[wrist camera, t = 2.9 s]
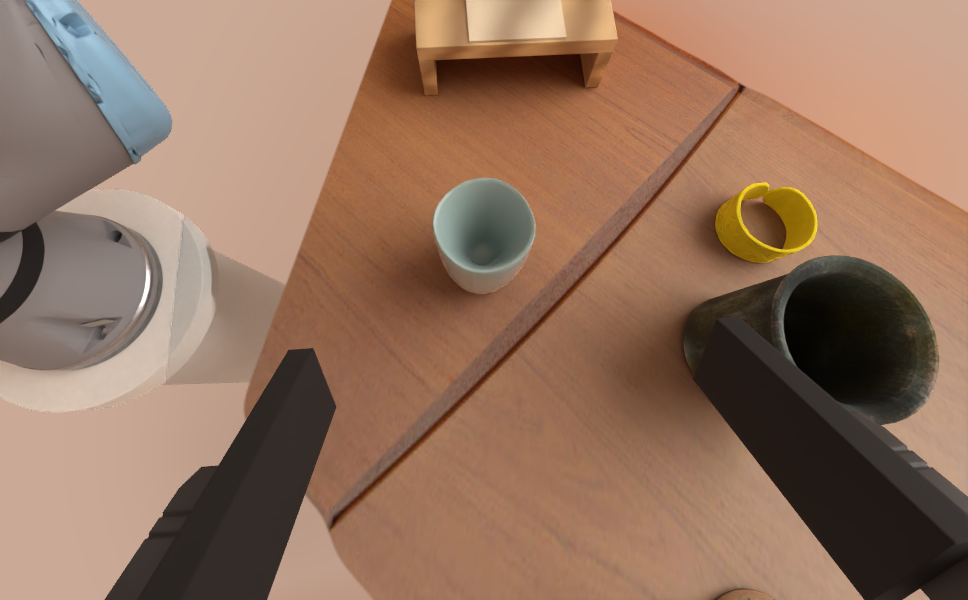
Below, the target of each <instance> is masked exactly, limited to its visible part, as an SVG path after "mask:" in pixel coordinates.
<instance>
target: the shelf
mask: <svg viewBox="0 0 968 600" xmlns="http://www.w3.org/2000/svg"><path fill="white" fill-rule="evenodd" d="M414 7H415V30H416V49H417V55H418V60H419V66H420V71H421V77H422V82H423V87H424V93H425V95H438V85H437V67H436V60H449V59H471V58H494V57H516V56H539V55H561V54H580V56H581V62H582V69H583V75H584V81H585V87H598V85H599V83H600V80H601V78H602V76H603V73H604V71H605V69H606V66H607V64H608V61H609V59H610V57H611V54H612V52H613V50H614V47H615V45H616V42H617V40H618V37H617V32H616V27H615V21H614V16H613V11H612V5H611V0H414Z"/></svg>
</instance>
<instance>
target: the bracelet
mask: <svg viewBox="0 0 968 600" xmlns="http://www.w3.org/2000/svg"><path fill="white" fill-rule="evenodd" d="M762 196H763V201H764V203H765V204H767V205H768V206H769V207H771V208H772V209H774V210H775V211H776V212H777V213H778V215H779V216H780V217H781V219H782V221H783V223H784V225H785V228H786V241H785V244H784V246H783V248H782V249H777V248H773V247H770V246H768V245H765V244H763V243H761V242H760V241H758V240H757V239H756V238H754V237H753V236H752V235H751V234H750V233H749V232H748V230H747V229H746V227H745V226H744V224H743V222H742V218H741V214H740V207H741V202H742V200H750V199H756V198H759V197H762ZM715 227H716V232H717V235H718V238H719V240H720V241H721V243H722V244H723V245H724V246H725V247H726V248H727V249H728V250H729V251H730V252H731V253H732V254H734V255H736V256H737V257H739V258H741V259H744V260H747V261H750V262H755V263H766V262H770V261H773V260H776V259H779V258H781V257H784V256H786V255H789V254H792V253H794V252H797V251H799V250H802V249H803V248H805V247H806V246H808V245H809V244H810V243H811V242H812V241H813V239H814V237H815V235H816V231H817V216H816V212H815V209H814V208H813V206H812V204H811V203H810V201H809V199H808V198H807V197H806V196H805V195H804V194H803V193H802V192H800V191H798V190H797V189H795V188H790V187H780V188H776V189H772V190H770V191H769V184H767V183H755V184H752V185H750V186H748V187H746V188H745V189H744V190H742V191H741V192H740V193H738V194H737V195H736V196H734V197H733V198H731V199H730V200H729V201H727V202H725V203H724V204H723V205H722V206H721V207H720V209H719V210H718V213H717V215H716V220H715Z"/></svg>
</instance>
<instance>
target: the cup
mask: <svg viewBox="0 0 968 600" xmlns="http://www.w3.org/2000/svg"><path fill="white" fill-rule="evenodd" d="M432 229H433V237H434V241H435V244H436V247H437V250H438V253H439V256H440V259H441V262H442V264H443V266H444V268H445V270H446V271H447V273H448V275H449V276H450V277H451V278H452V280H453V281H454V282H455V283H456V284H457V285H458V286H459V287H461V288H462V289H464V290H466V291H468V292H471V293H474V294H489V293H492V292H495V291H498V290H500V289H502V288H503V287H505V286H506V285H508V284H509V283H510V282H511V281H512V280H513V279H514V278H515V277H516V276H517V275H518V274H519V272H520V270H521V269H522V267H523V265H524V264H525V262H526V260H527V258H528V256H529V253H530V251H531V248H532V245H533V242H534V239H535V231H536V225H535V219H534V215H533V213H532V210H531V207H530V206H529V204H528V202H527V201H526V199H525V198H524V197H523V196H522V195H521V193H520V192H519V191H517V190H516V189H515V188H514V187H513V186H511V185H509V184H508V183H506V182H504V181H501V180H498V179H495V178H476V179H472V180H469V181H466V182H463V183H461V184H459V185H457V186H456V187H454V188H453V189H451V190H450V191H449V192H448V193H447V194H445V195H444V196H443V197H442V199H441V200H440V202H439V203H438V204H437V206H436V209H435V211H434V214H433V221H432Z"/></svg>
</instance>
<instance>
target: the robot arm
mask: <svg viewBox="0 0 968 600" xmlns="http://www.w3.org/2000/svg"><path fill="white" fill-rule="evenodd" d="M171 128H172V119H171V116H170V113H169V111H168V109H167V108H166V106H165V105H164V103H163V102H162V101H161V99H160V98H159V97H158V95H157V94H156V93H155V92H154V90H153V89H152V88H151V87H150V85H149V84H148V83H147V82H146V80H145V79H144V78H143V77H142V75H141V74H140V73H139V72H138V71H137V69H136V68H135V67H134V66H133V65H132V64H131V62H130V61H129V60H128V59H127V57H126V56H125V55H124V54H123V53H122V51H121V50H120V49H119V48H118V47H117V46H116V45H115V43H114V42H113V41H112V40H111V39H110V37H109V36H108V35H107V34H106V33H105V32H104V30H103V29H102V28H101V27H100V26H99V25H98V24H97V22H96V21H95V20H94V19H93V18H92V17H91V16H90V15H89V13H88V12H87V11H86V10H85V9H84V7H83V6H82V5H81V4H80V3H79V2H78V1H77V0H0V360H1V361H4V362H7V363H11V364H14V365H17V366H20V367H23V368H28V369H33V370H77V369H83V368H87V367H91V366H94V365H97V364H99V363H102V362H104V361H106V360H108V359H110V358H112V357H114V356H115V355H117V354H119V353H120V352H122V351H123V350H124V349H126V348H127V347H128V346H129V345H131V344H132V343H133V342H134V341H135V340H136V339H137V338H138V337H139V336H140V334H141V333H142V332H143V331H144V330H145V328H146V327H147V326H148V324H149V323H150V321H151V319H152V318H153V316H154V314H155V312H156V309H157V307H158V304H159V301H160V297H161V293H162V286H163V273H162V267H161V263H160V260H159V257H158V255H157V253H156V251H155V249H154V248H153V246H152V245H151V244H150V243H149V242H148V240H147V239H146V238H144V237H143V236H142V235H141V234H139V233H138V232H136V231H135V230H133V229H131V228H129V227H126V226H124V225H122V224H119V223H117V222H114V221H112V220H109V219H107V218H104V217H100V216H94V215H86V214H78V213H70V212H62V211H55V210H57V209H58V208H60V207H62V206H63V205H65V204H67V203H68V202H70V201H72V200H73V199H75V198H77V197H78V196H80V195H82V194H83V193H85V192H87V191H88V190H90V189H92V188H93V187H95V186H97V185H98V184H100V183H102V182H104V181H105V180H107V179H108V178H110V177H112V176H114V175H115V174H117V173H119V172H120V171H122V170H123V169H125V168H127V167H129V166H130V165H132V164H137V163H138V162H139V161H140V160H141V156H143V155H144V154H145V153H147V152H148V151H150V150H151V149H152V148H154V147H155V146H156V145H158V144H159V143H161V142H162V141H163V140H165V139H166V138H167V137H168V135H169V133H170V132H171ZM693 379H694V381H695V382H696V383H697V385H698V386H699V387H700V388H701V390H702V391H703V392H704V394H705V395H706V396H707V397H708V399H709V400H710V401H711V403H712V404H713V405H714V406H715V408H716V409H717V410H718V412H719V413H720V414H721V415H722V417H723V418H724V419H725V421H726V422H727V423H728V425H729V426H730V427H731V428H732V430H733V431H734V432H735V434H736V435H737V436H738V437H739V439H740V440H741V441H742V443H743V444H744V445H745V446H746V448H747V449H748V450H749V452H750V453H751V454H752V455H753V457H754V458H755V459H756V461H757V462H758V463H759V464H760V466H761V467H762V468H763V470H764V471H765V472H766V474H767V475H768V476H769V477H770V479H771V480H772V481H773V483H774V484H775V485H776V486H777V488H778V489H779V490H780V492H781V493H782V494H783V495H784V497H785V498H786V499H787V501H788V502H789V503H790V504H791V506H792V507H793V508H794V510H795V511H796V512H797V513H798V515H799V516H800V517H801V519H802V520H803V521H804V523H805V524H806V525H807V526H808V528H809V529H810V530H811V532H812V533H813V534H814V535H815V537H816V538H817V539H818V541H819V542H820V543H821V544H822V546H823V547H824V548H825V550H826V551H827V552H828V553H829V555H830V556H831V557H832V559H833V560H834V561H835V563H836V564H837V565H838V566H839V568H840V569H841V570H842V572H843V573H844V574H845V575H846V577H847V578H848V579H849V581H850V582H851V583H852V584H853V586H854V587H855V588H856V590H857V591H858V592H859V593H860V595H861V596H862V597H863V599H864V600H902V599H904V598H906V597H907V596H909V595H910V594H912V593H913V592H915V591H917V590H918V589H921V590H922V591H923V592H924V593H925V594H926V595H927V596H928V597H929V599H930V600H968V497H967V496H966V495H965V494H964V493H963V492H961V491H960V490H959V489H958V488H957V487H955V486H954V485H953V484H952V483H951V482H949V481H948V480H947V479H946V478H945V477H943V476H942V475H941V474H940V473H938V472H937V471H936V470H935V469H934V468H932V467H931V468H930V467H928V466H927V463H926V462H925V461H924V460H923V459H922V458H920V457H919V456H918V455H917V454H916V453H914V452H913V451H909V450H908V449H907V446H906V445H905V444H903V443H902V442H901V441H900V440H899V439H897V438H896V437H895V436H894V435H893V434H891V433H890V432H889V431H888V430H887V429H885V428H884V427H883V426H881V425H879V424H877V423H876V422H874V421H872V420H870V419H869V418H867V417H865V416H863V415H862V414H860V413H858V412H857V411H854V412H849V411H848V410H846V409H845V408H844V407H843V406H842V405H841V404H839V403H838V402H837V401H836V400H835V399H834V398H832V397H831V396H830V395H829V394H828V393H827V392H826V391H824V390H823V389H822V388H821V387H820V386H819V385H817V384H816V383H815V382H814V381H813V380H812V379H810V378H809V377H808V376H807V375H806V374H805V373H803V372H802V371H801V370H800V369H799V368H798V367H796V366H795V365H794V364H793V363H792V362H791V361H790V360H788V359H787V358H786V357H785V356H784V355H783V354H781V353H780V352H779V351H778V350H777V349H776V348H774V347H773V346H772V345H771V344H770V343H769V342H767V341H766V340H765V339H764V338H763V337H762V336H760V335H759V334H758V333H757V332H756V331H755V330H754V329H752V328H751V327H750V326H749V325H748V324H747V323H745V322H744V321H743V320H742V319H741V318H740V317H732V318H718V319H716V321H715V323H714V326H713V329H712V331H711V334H710V336H709V339H708V341H707V344H706V347H705V349H704V352H703V354H702V357H701V360H700V362H699V365H698V367H697V370H696V372H695V375H694V378H693ZM335 409H336V405H335V402H334V400H333V397H332V395H331V392H330V390H329V387H328V385H327V382H326V380H325V377H324V374H323V372H322V369H321V367H320V364H319V362H318V359H317V357H316V354H315V352H314V349H313V348H310V349H296V350H288V352H287V354H286V355H285V357H284V359H283V360H282V362H281V363H280V365H279V367H278V368H277V370H276V372H275V373H274V375H273V377H272V378H271V380H270V382H269V383H268V385H267V387H266V388H265V390H264V392H263V393H262V395H261V396H260V398H259V400H258V401H257V403H256V405H255V406H254V408H253V410H252V411H251V413H250V415H249V416H248V418H247V420H246V421H245V423H244V424H243V426H242V428H241V429H240V431H239V433H238V434H237V436H236V438H235V439H234V441H233V443H232V444H231V446H230V448H229V449H228V451H227V453H226V454H225V456H224V457H223V459H222V461H221V462H220V464H219V466H208V467H201V468H200V469H199V470H198V471H197V472H196V473H195V474H194V475H193V476H191V478H190V479H188V480H187V481H186V482H185V483H184V484H183V485H182V486H181V487H180V488H179V489H178V491H177V493H176V494H175V495H174V497H173V498H172V500H171V501H170V503H169V504H168V506H167V507H166V509H165V510H164V512H163V516H162V517H161V518H159V519H158V521H157V522H156V524H155V525H154V527H153V528H152V530H151V531H150V533H149V537H148V538H147V539H145V540H144V542H143V543H142V544H141V546H140V548H139V549H138V550H137V552H136V553H135V555H134V556H133V558H132V559H131V561H130V563H129V564H128V565H127V567H126V568H125V570H124V571H123V573H122V574H121V576H120V577H119V579H118V580H117V582H116V583H115V585H114V586H113V588H112V590H111V591H110V592H109V594H108V595H107V597H106V598H105V600H267V598H268V595H269V592H270V590H271V587H272V584H273V581H274V579H275V575H276V573H277V570H278V567H279V565H280V562H281V559H282V556H283V554H284V551H285V548H286V545H287V542H288V540H289V537H290V534H291V531H292V529H293V526H294V523H295V520H296V518H297V515H298V512H299V509H300V506H301V504H302V501H303V498H304V495H305V493H306V490H307V487H308V484H309V481H310V479H311V476H312V473H313V470H314V468H315V465H316V462H317V459H318V457H319V454H320V451H321V448H322V445H323V443H324V440H325V437H326V434H327V432H328V429H329V426H330V423H331V420H332V418H333V415H334V412H335Z"/></svg>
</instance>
